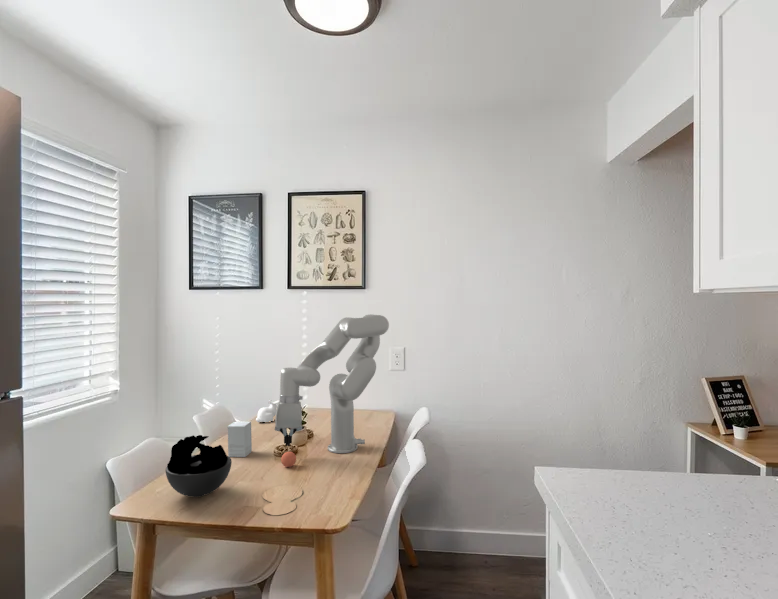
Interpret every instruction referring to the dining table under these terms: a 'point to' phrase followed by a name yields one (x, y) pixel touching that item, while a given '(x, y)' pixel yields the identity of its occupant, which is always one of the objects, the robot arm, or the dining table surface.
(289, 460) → the ball
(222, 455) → the coal bowl
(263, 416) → the rabbit
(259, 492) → the dining table surface
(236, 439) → the supplement box
